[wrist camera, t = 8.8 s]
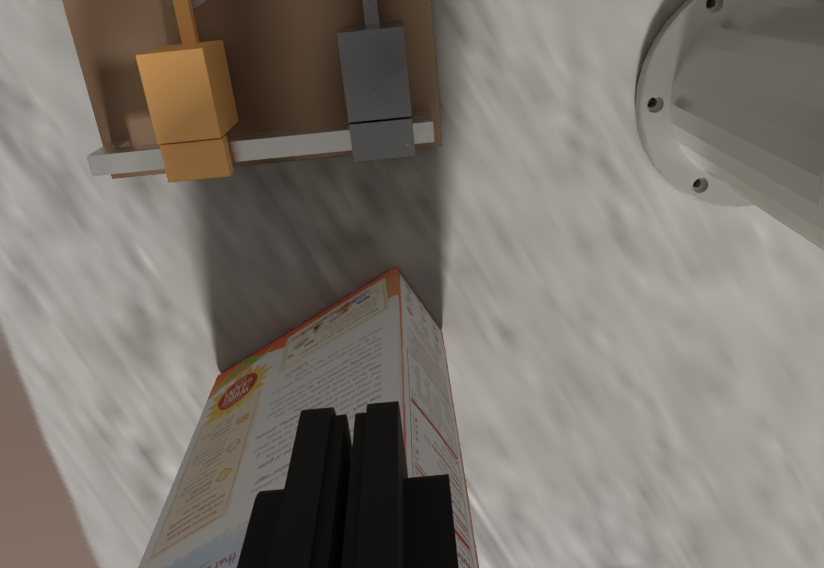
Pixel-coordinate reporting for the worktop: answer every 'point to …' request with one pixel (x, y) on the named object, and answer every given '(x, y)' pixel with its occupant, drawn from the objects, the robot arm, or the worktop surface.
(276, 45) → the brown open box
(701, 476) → the worktop surface
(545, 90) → the worktop surface
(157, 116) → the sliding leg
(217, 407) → the cracker box
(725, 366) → the worktop surface
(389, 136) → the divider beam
